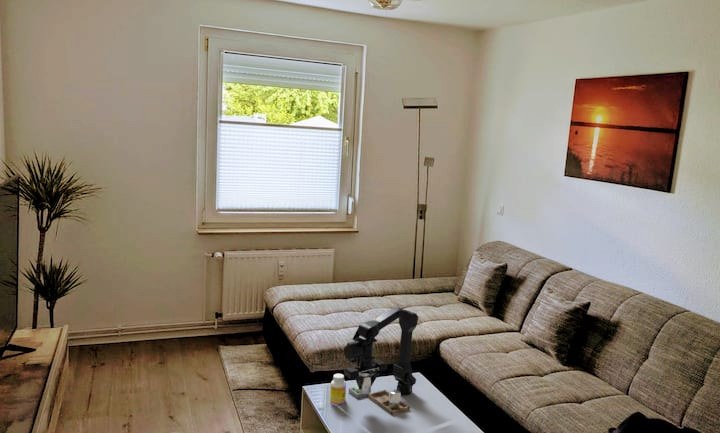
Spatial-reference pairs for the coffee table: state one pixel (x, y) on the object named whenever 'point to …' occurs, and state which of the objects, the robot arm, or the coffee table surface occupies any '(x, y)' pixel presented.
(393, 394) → the cylinder
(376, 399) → the wooden tray
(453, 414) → the coffee table surface
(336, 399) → the supplement bottle
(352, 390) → the grey square tray
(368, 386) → the cylinder
